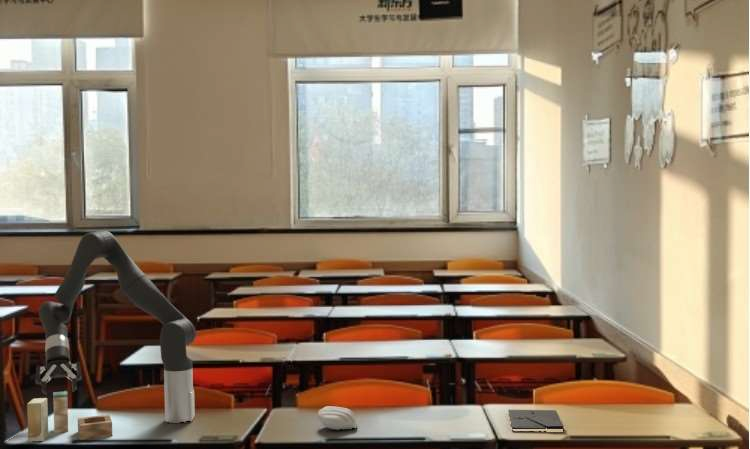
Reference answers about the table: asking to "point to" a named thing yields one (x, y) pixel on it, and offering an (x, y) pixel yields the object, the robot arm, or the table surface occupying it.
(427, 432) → the table surface
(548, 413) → the picture frame
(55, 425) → the peg
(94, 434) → the socket block
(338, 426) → the shell shaped sculpture
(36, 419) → the skincare box
